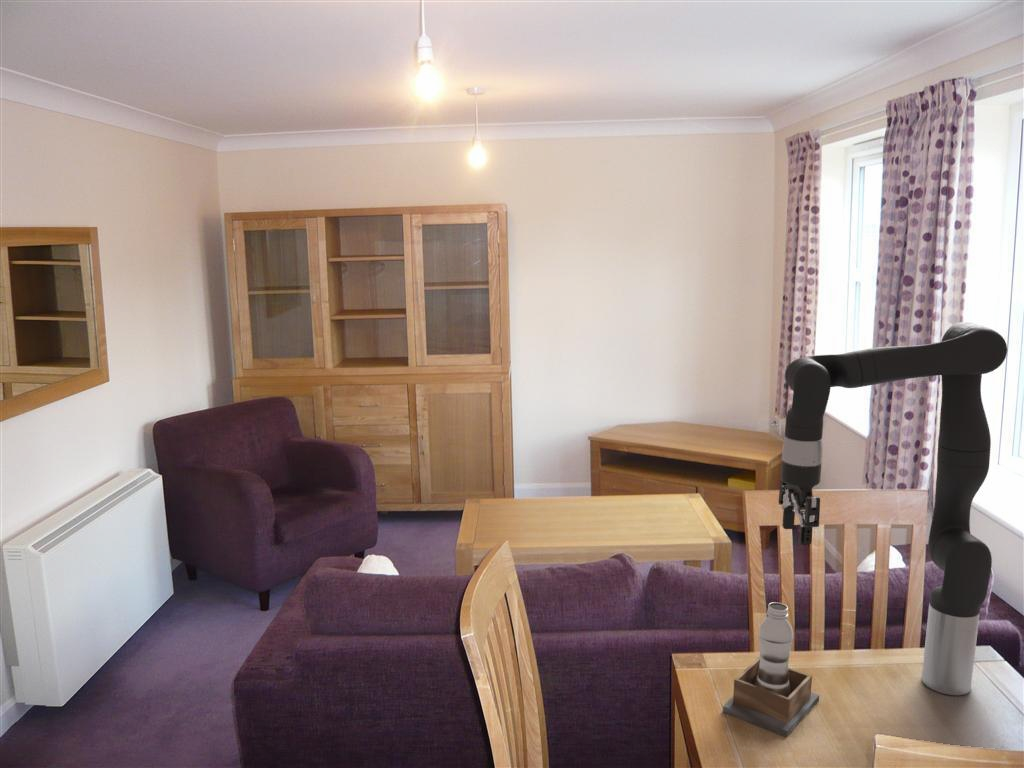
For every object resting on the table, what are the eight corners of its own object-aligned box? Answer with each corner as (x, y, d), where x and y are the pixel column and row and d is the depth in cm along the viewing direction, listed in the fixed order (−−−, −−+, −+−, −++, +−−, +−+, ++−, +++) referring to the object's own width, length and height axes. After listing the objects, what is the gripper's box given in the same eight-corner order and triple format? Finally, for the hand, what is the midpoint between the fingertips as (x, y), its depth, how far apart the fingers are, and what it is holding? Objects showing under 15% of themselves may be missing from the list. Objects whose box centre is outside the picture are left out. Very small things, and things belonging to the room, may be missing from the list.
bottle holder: (757, 678, 182) (759, 651, 181) (818, 700, 174) (821, 672, 173) (722, 711, 170) (724, 682, 169) (786, 737, 162) (788, 707, 161)
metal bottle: (791, 710, 169) (798, 615, 165) (755, 706, 170) (761, 612, 166) (787, 692, 175) (794, 600, 171) (752, 689, 176) (758, 597, 172)
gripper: (836, 469, 165) (829, 549, 168) (805, 448, 179) (799, 522, 182) (798, 470, 165) (792, 550, 168) (769, 449, 178) (765, 524, 182)
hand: (796, 536), depth 175 cm, fingers open, 8 cm apart
